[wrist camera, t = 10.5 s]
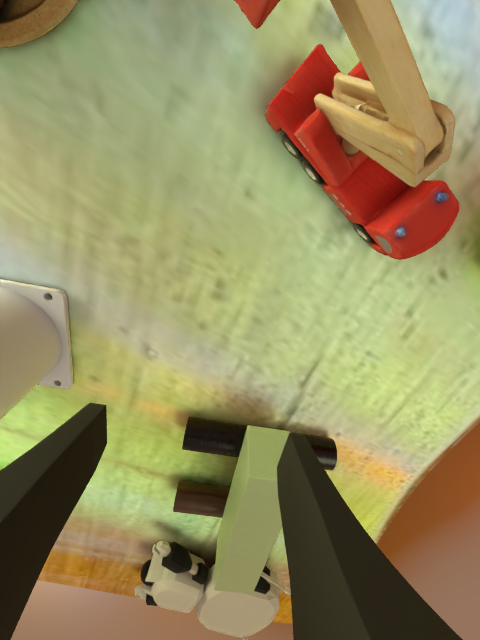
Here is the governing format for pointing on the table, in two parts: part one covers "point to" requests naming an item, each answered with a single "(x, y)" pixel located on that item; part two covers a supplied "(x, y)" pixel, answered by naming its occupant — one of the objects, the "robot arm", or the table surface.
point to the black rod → (231, 437)
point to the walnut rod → (201, 499)
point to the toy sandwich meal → (30, 19)
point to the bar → (250, 512)
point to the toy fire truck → (369, 130)
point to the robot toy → (207, 592)
